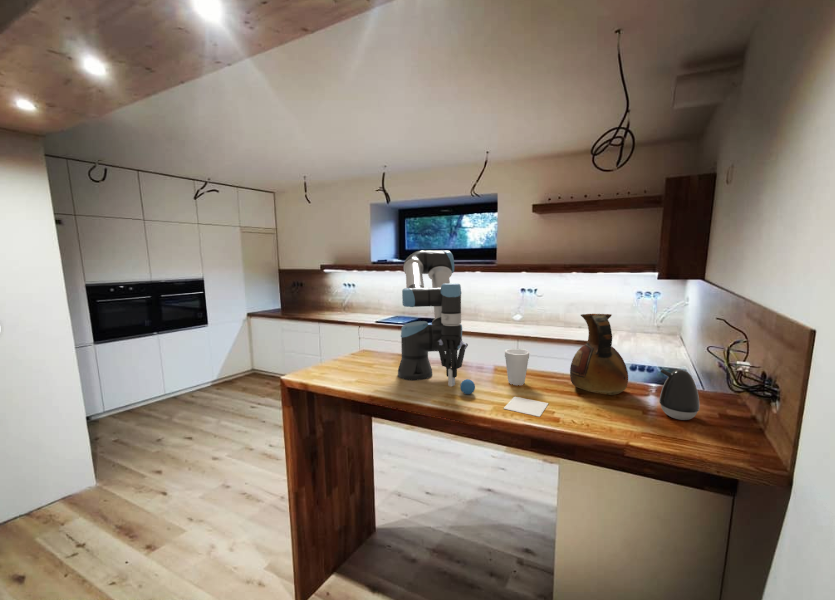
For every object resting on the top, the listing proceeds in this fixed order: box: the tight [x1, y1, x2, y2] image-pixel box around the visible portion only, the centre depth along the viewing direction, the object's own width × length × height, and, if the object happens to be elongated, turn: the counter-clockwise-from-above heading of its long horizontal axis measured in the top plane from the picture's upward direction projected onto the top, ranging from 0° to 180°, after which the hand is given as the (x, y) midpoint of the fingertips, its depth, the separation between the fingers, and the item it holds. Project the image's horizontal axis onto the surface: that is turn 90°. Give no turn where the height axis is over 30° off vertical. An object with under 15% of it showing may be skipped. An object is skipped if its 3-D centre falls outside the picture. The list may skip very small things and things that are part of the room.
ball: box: [460, 378, 476, 395], centre depth 133 cm, size 6×6×6 cm
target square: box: [503, 396, 549, 418], centre depth 121 cm, size 12×12×1 cm
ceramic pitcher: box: [569, 313, 629, 396], centre depth 133 cm, size 20×20×30 cm
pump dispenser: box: [658, 369, 701, 421], centre depth 111 cm, size 10×10×15 cm
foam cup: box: [504, 348, 530, 386], centre depth 143 cm, size 10×9×13 cm
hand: (451, 385), depth 135 cm, fingers closed
